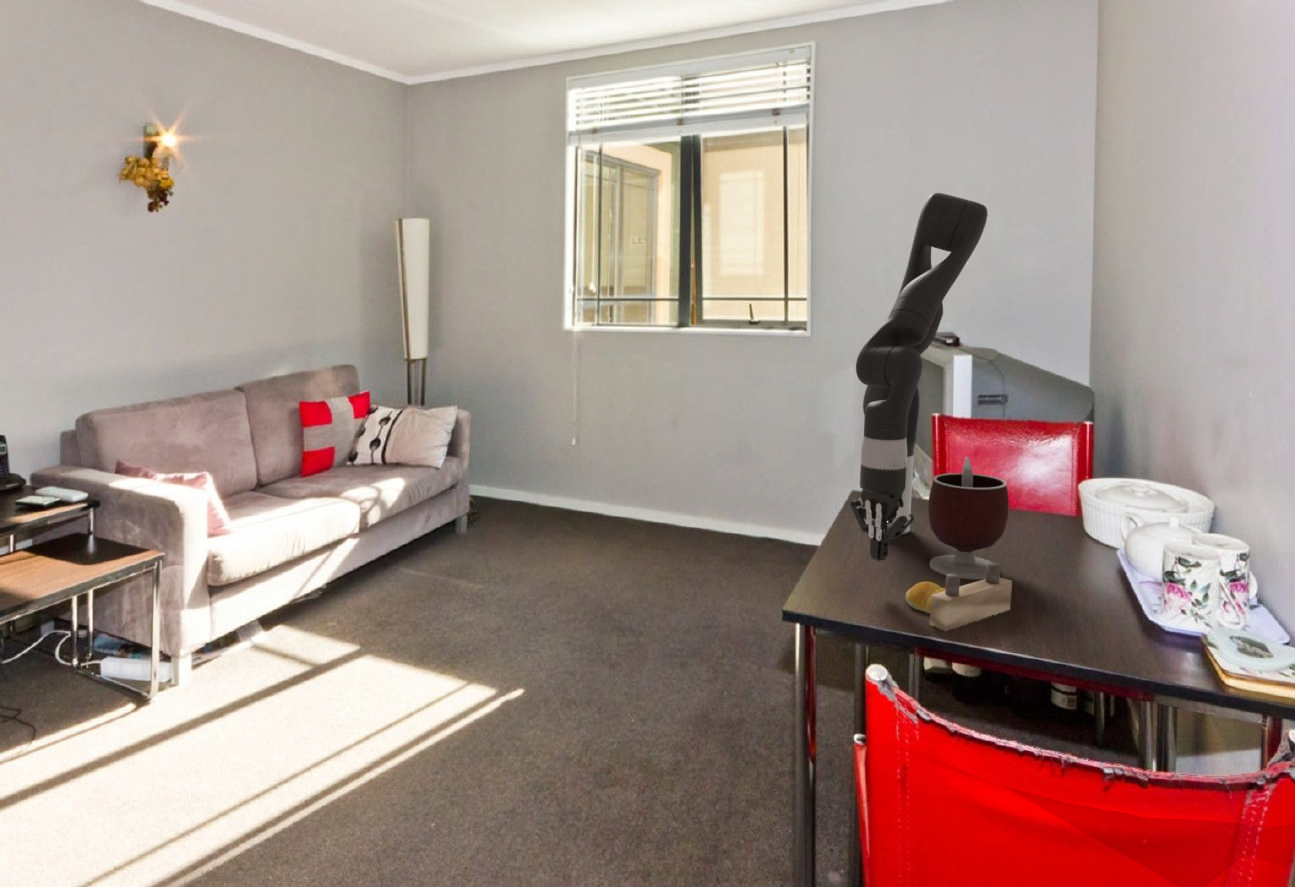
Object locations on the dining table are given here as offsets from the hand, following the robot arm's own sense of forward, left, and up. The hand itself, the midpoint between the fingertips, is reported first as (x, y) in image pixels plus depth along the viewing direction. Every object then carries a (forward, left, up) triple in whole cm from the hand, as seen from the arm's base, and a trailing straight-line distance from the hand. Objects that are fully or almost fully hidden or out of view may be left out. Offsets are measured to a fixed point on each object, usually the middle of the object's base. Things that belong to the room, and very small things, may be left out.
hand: (878, 559), depth 139 cm
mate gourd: (0, +23, -6) cm, 24 cm away
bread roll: (+10, +2, -6) cm, 12 cm away
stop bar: (+17, +3, -6) cm, 18 cm away
